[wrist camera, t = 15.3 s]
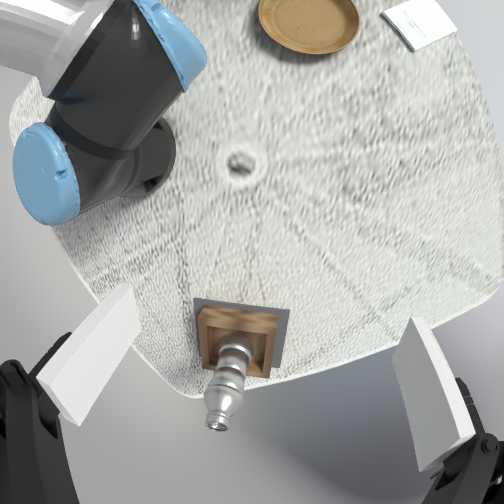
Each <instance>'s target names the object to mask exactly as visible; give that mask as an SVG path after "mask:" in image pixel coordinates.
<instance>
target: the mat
mask: <svg viewBox="0 0 504 504" xmlns="http://www.w3.org/2000/svg"><path fill="white" fill-rule="evenodd" d="M194 304H195V317H196V328H197V339H198V349H199V356H201V348H200V337H199V326H198V317H199V315H200V312H201V310H202V308H203V306H204V305H211V306H217V307H224V308H232V309H239V310H247V311H255V312H263V313H272V314H278V321H277V330H276V337H275V344H274V351H273V357H272V364H271V367H275V368H280V364H281V358H282V353H283V347H284V342H285V336H286V330H287V324H288V318H289V312H290V310H287V309H278V308H269V307H260V306H252V305H244V304H236V303H229V302H221V301H214V300H207V299H201V298H194Z"/></svg>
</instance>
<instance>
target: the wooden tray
mask: <svg viewBox="0 0 504 504" xmlns="http://www.w3.org/2000/svg"><path fill="white" fill-rule="evenodd" d="M277 321H278V314H272V313H263V312H255V311H247V310H239V309H232V308H224V307H217V306H211V305H204V306H203V308H202V310H201V312H200V315H199V317H198V326H199V337H200V348H201V358H202V367H203V369H209V370H214V371H215V370H216V367H217V364H218V359H219V349H220V344H221V342H222V341H223V339H224V338H225V337H226V336H227V335H230V334H234V333H238V334H243V335H245V336H246V337H248V338H249V339H250V341H251V342H252V343H253V346H254V354H253V357H252V360H251V362H250V364H249V366H248V369H247V372H246V376H253V377H260V378H269V377H270V370H271V364H272V357H273V351H274V344H275V337H276V330H277Z"/></svg>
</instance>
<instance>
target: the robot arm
mask: <svg viewBox="0 0 504 504" xmlns="http://www.w3.org/2000/svg"><path fill="white" fill-rule="evenodd" d="M206 64H207V53H206V51H205V49H204V47H203V46H202V44H201V43H200V42H199V40H198V39H197V38H196V37H195V36H194V34H193V33H192V32H191V31H190V30H189V29H188V28H187V27H186V26H185V25H184V24H183V23H182V22H181V21H180V20H179V19H178V18H177V17H176V16H175V15H174V14H173V13H172V12H171V11H169V10H168V9H167V8H164V6H163V5H162V4H160V3H159V2H158V1H157V0H0V65H2V66H5V67H9V68H12V69H15V70H19V71H22V72H25V73H28V74H31V75H34V76H36V77H37V78H38V80H39V83H40V87H41V90H42V94H43V96H44V97H46V98H49V99H52V100H55V103H54V105H53V107H52V109H51V111H50V113H49V115H48V117H47V119H46V120H45V122H44V123H42V122H39V123H34V124H33V125H32V126H30V127H29V128H26V129H25V130H24V131H23V132H22V133H21V135H20V136H19V138H18V140H17V143H16V146H15V150H14V155H13V173H14V180H15V184H16V189H17V192H18V195H19V197H20V199H21V201H22V203H23V205H24V207H25V208H26V210H27V211H28V213H29V214H30V215H31V216H32V217H33V218H34V219H35V220H36V221H38V222H40V223H42V224H44V225H50V226H55V225H59V224H61V223H64V222H67V221H71V220H73V219H74V218H76V217H77V216H78V215H80V214H82V213H84V212H86V211H88V210H90V209H92V208H94V207H96V206H98V205H100V204H102V203H104V202H106V201H108V200H110V199H112V198H114V197H116V196H119V197H129V198H135V197H141V196H144V195H146V194H148V193H150V192H152V191H154V190H156V189H157V188H159V187H160V186H161V185H162V184H163V183H164V182H165V181H166V179H167V178H168V177H169V175H170V173H171V171H172V168H173V165H174V162H175V156H176V145H175V139H174V135H173V132H172V130H171V128H170V126H169V125H168V123H167V122H166V121H165V119H164V118H163V117H161V116H162V115H163V114H164V113H165V112H166V111H167V109H168V108H169V107H170V106H171V105H172V104H173V103H174V101H175V100H176V99H177V98H178V97H179V96H180V95H181V94H182V93H185V92H186V91H187V89H188V86H189V85H190V84H191V82H192V81H193V80H194V79H195V78H196V77H197V76H198V75H199V74H200V72H201V71H202V70H203V69H204V68H205V66H206ZM141 330H142V328H141V324H140V320H139V315H138V311H137V306H136V301H135V297H134V292H133V286H132V285H127V284H121V283H119V284H118V285H117V286H116V287H115V288H114V289H113V290H112V291H111V292H110V293H109V295H108V296H107V297H106V298H105V299H104V300H103V301H102V302H101V303H100V304H99V305H98V306H97V307H96V308H95V309H94V310H93V311H92V313H91V314H90V315H89V316H88V317H87V318H86V319H85V320H84V321H83V322H82V323H81V325H80V326H79V327H78V328H77V329H76V330H75V331H74V332H73V333H71V332H68V333H66V334H65V335H63V336H61V337H60V338H59V339H58V340H57V341H56V342H55V344H54V345H53V347H51V348H50V349H49V350H48V353H46V354H45V355H44V356H43V357H42V358H41V360H40V361H39V362H38V363H37V364H36V366H35V367H34V368H33V369H32V371H31V372H30V373H29V374H28V375H27V373H26V372H25V370H24V368H23V367H22V365H21V364H20V362H19V361H17V360H8V361H5V362H4V363H3V364H1V366H0V504H80V503H79V500H78V497H77V494H76V491H75V487H74V484H73V481H72V477H71V473H70V469H69V465H68V461H67V457H66V452H65V447H64V442H63V437H62V431H61V425H60V420H59V417H58V414H59V413H60V412H61V413H62V414H63V416H64V417H65V418H66V419H67V420H69V421H70V422H72V423H74V424H76V425H78V426H80V425H81V424H82V422H83V420H84V419H85V417H86V415H87V413H88V412H89V410H90V409H91V407H92V405H93V404H94V402H95V400H96V399H97V397H98V396H99V394H100V392H101V391H102V389H103V388H104V386H105V384H106V383H107V381H108V380H109V378H110V376H111V375H112V373H113V372H114V370H115V369H116V367H117V366H118V364H119V363H120V361H121V360H122V358H123V356H124V355H125V354H126V352H127V351H128V349H129V348H130V346H131V345H132V343H133V342H134V340H135V339H136V337H137V336H138V334H139V333H140V331H141ZM391 359H392V362H393V365H394V368H395V372H396V375H397V378H398V382H399V385H400V389H401V392H402V396H403V400H404V404H405V407H406V411H407V415H408V419H409V424H410V428H411V432H412V436H413V441H414V446H415V451H416V457H417V462H418V468H419V471H424V470H428V469H432V468H435V467H436V466H438V465H439V464H440V463H442V462H443V464H444V467H443V468H441V469H440V470H439V471H437V472H436V473H434V474H433V475H432V476H431V477H430V479H432V478H434V477H436V476H437V475H438V476H437V477H436V479H435V480H434V483H433V485H432V487H431V489H430V490H429V492H428V494H427V496H426V497H425V499H424V500H423V502H422V504H504V441H498V440H497V438H496V437H495V436H494V435H492V434H489V433H485V431H484V428H483V425H482V423H481V420H480V417H479V415H478V412H477V409H476V407H475V405H474V404H473V400H472V397H470V393H469V391H468V388H467V386H466V385H465V383H464V382H463V381H462V380H461V379H460V378H454V376H453V374H452V372H451V370H450V367H449V365H448V363H447V361H446V359H445V357H444V355H443V353H442V351H441V349H440V347H439V345H438V343H437V341H436V339H435V337H434V335H433V333H432V332H431V329H430V327H429V326H428V324H427V322H426V320H425V318H424V317H411V318H410V320H409V322H408V324H407V327H406V329H405V331H404V333H403V336H402V338H401V340H400V342H399V344H398V346H397V348H396V350H395V353H394V354H393V356H392V358H391ZM501 476H502V481H501V483H499V484H498V478H500V477H501Z"/></svg>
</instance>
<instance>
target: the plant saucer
mask: <svg viewBox="0 0 504 504" xmlns="http://www.w3.org/2000/svg"><path fill="white" fill-rule="evenodd" d="M258 16H259V20H260V23H261V25H262V27H263V29H264V30H265V32H266V33H267V34H268V35H269V36H270V37H271V38H272V39H273V40H275V41H276V42H278V43H279V44H281V45H282V46H284V47H286V48H288V49H291V50H294V51H297V52H301V53H307V54H326V53H331V52H335V51H338V50H340V49H342V48H344V47H346V46H347V45H348V44H350V43H351V42H352V41H353V40H354V38H355V37H356V35H357V34H358V31H359V28H360V16H359V12H358V9H357V7H356V5H355V4H354V2H353V1H352V0H261V1H260V4H259V9H258Z"/></svg>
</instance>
